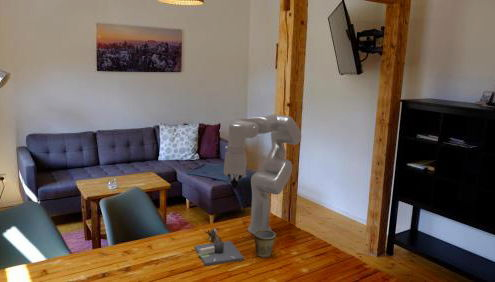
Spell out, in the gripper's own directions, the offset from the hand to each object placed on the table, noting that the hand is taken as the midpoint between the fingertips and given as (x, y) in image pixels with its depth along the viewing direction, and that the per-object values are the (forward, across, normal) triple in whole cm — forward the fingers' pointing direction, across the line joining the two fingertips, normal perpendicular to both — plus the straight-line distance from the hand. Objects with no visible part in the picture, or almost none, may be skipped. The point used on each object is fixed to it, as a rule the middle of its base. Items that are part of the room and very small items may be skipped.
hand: (234, 188), depth 191 cm
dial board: (+29, -4, -10) cm, 31 cm away
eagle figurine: (+29, -10, +2) cm, 31 cm away
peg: (+28, -6, -12) cm, 31 cm away
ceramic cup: (+29, +16, -2) cm, 34 cm away
